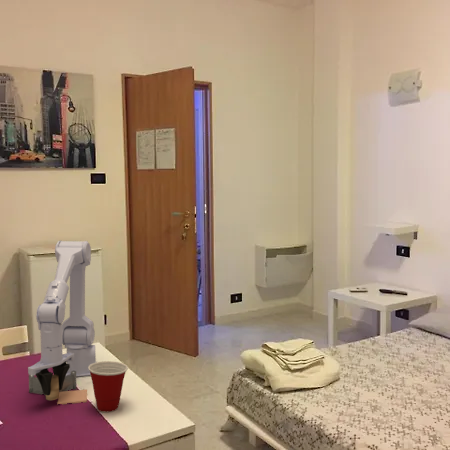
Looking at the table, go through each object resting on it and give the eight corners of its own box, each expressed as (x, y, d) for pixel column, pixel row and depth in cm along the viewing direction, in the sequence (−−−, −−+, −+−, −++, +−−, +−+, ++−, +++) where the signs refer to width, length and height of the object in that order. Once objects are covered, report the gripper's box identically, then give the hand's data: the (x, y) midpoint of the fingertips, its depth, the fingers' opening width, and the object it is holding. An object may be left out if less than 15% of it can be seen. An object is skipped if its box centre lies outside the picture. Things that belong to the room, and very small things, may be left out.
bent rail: (76, 387, 160) (76, 370, 160) (76, 394, 155) (75, 377, 155) (29, 391, 157) (29, 374, 157) (27, 398, 152) (26, 381, 151)
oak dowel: (55, 394, 151) (54, 373, 151) (61, 397, 149) (60, 376, 148) (43, 397, 149) (42, 377, 148) (49, 401, 146) (49, 380, 146)
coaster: (87, 391, 158) (87, 389, 157) (86, 402, 150) (86, 400, 150) (59, 393, 156) (59, 391, 156) (57, 404, 148) (57, 403, 148)
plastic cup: (134, 410, 144) (133, 368, 143) (95, 419, 139) (94, 375, 138) (120, 396, 154) (120, 356, 153) (84, 404, 148) (83, 363, 147)
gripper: (62, 336, 156) (63, 380, 157) (20, 349, 143) (21, 397, 144) (78, 340, 152) (79, 385, 153) (37, 354, 140) (38, 403, 141)
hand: (52, 391), depth 149 cm, fingers closed on oak dowel, 4 cm apart
